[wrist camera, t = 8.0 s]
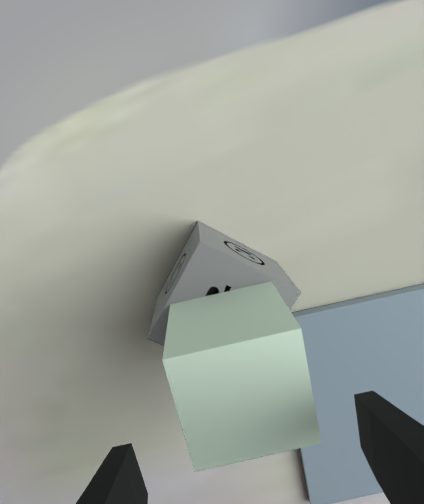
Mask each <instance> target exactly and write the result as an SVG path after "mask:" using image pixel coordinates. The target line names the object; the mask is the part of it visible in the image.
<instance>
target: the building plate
mask: <svg viewBox="0 0 424 504" xmlns="http://www.w3.org/2000/svg"><path fill="white" fill-rule="evenodd" d="M292 314H293V316H294V318H295V319H296V321H297V322H298V324H299V325H300V327H301V330H302V335H303V341H304V347H305V352H306V358H307V364H308V370H309V375H310V381H311V387H312V393H313V398H314V404H315V410H316V416H317V421H318V427H319V433H320V438H321V444H317V445H313V446H308V447H304V448H300V453H301V459H302V464H303V470H304V475H305V481H306V486H307V492H308V497H309V501H310V504H331V503H336V502H340V501H345V500H349V499H354V498H359V497H363V496H368V495H372V494H377V493H382V492H383V490H382V489H381V487H380V485H379V484H378V482H377V480H376V478H375V476H374V474H373V472H372V470H371V468H370V466H369V464H368V462H367V460H366V457H365V455H364V453H363V451H362V449H361V445H360V438H359V430H358V422H357V415H356V407H355V399H354V394H359V393H363V392H368V391H374V392H376V393H377V394H379V395H380V396H382V397H383V398H385V399H386V400H387V401H389V402H390V403H392V404H393V405H394V406H396V407H397V408H399V409H400V410H402V411H403V412H404V413H406V414H407V415H409V416H410V417H412V418H413V419H415V420H416V421H418V422H419V423H421V424H422V425H424V284H421V285H416V286H412V287H407V288H402V289H398V290H393V291H389V292H384V293H380V294H375V295H371V296H366V297H361V298H357V299H352V300H348V301H343V302H339V303H334V304H329V305H325V306H320V307H316V308H311V309H307V310H302V311H298V312H293V313H292Z"/></svg>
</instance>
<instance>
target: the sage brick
mask: <svg viewBox="0 0 424 504" xmlns="http://www.w3.org/2000/svg"><path fill="white" fill-rule="evenodd" d="M162 361H163V364H164V368H165V371H166V375H167V378H168V382H169V385H170V389H171V392H172V395H173V399H174V402H175V406H176V409H177V413H178V416H179V419H180V423H181V426H182V430H183V433H184V437H185V440H186V443H187V447H188V450H189V454H190V457H191V461H192V464H193V467H194V471H195V472H198V471H202V470H207V469H211V468H216V467H220V466H224V465H229V464H233V463H238V462H242V461H246V460H251V459H255V458H260V457H264V456H268V455H273V454H277V453H282V452H286V451H290V450H295V449H299V448H304V447H308V446H313V445H317V444H321V438H320V433H319V427H318V421H317V416H316V410H315V404H314V398H313V393H312V387H311V381H310V375H309V370H308V364H307V358H306V352H305V347H304V341H303V335H302V330H301V327H300V325H299V324H298V322H297V321H296V319H295V318H294V316H293V314H292V313H291V311H290V310H289V308H288V307H287V305H286V303H285V302H284V300H283V299H282V297H281V296H280V294H279V292H278V291H277V289H276V288H275V286H274V285H273V283H272V281H270V282H266V283H262V284H257V285H253V286H249V287H244V288H240V289H235V290H231V291H227V292H222V293H218V294H213V295H209V296H205V297H201V298H196V299H192V300H187V301H183V302H179V303H174V304H170V309H169V316H168V323H167V330H166V337H165V344H164V351H163V358H162Z"/></svg>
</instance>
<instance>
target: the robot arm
mask: <svg viewBox="0 0 424 504" xmlns="http://www.w3.org/2000/svg"><path fill="white" fill-rule="evenodd" d="M354 399H355V407H356V415H357V422H358V430H359V438H360V445H361V449H362V451H363V453H364V455H365V457H366V460H367V462H368V464H369V466H370V468H371V470H372V472H373V474H374V476H375V478H376V480H377V482H378V484H379V485H380V487H381V489H382V490H383V492H384V493H385V495H386V497H387V498H388V500H389V502H390V503H391V504H424V425H422V424H421V423H419V422H418V421H416V420H415V419H413V418H412V417H410V416H409V415H407V414H406V413H404V412H403V411H402V410H400V409H399V408H397V407H396V406H394V405H393V404H392V403H390V402H389V401H387V400H386V399H385V398H383V397H382V396H380V395H379V394H377V393H376V392H374V391H368V392H363V393H359V394H354ZM147 502H148V493H147V490H146V487H145V483H144V480H143V477H142V474H141V471H140V468H139V465H138V462H137V459H136V456H135V453H134V450H133V447H132V444H131V443H130V444H125V445H121V446H116V447H112V449H111V450H110V452H109V453H108V455H107V456H106V458H105V460H104V461H103V463H102V464H101V466H100V467H99V469H98V471H97V472H96V474H95V475H94V477H93V478H92V480H91V482H90V483H89V485H88V486H87V488H86V489H85V491H84V492H83V494H82V495H81V497H80V498H79V500H78V501H77V503H76V504H147Z"/></svg>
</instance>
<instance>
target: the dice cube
mask: <svg viewBox="0 0 424 504" xmlns="http://www.w3.org/2000/svg"><path fill="white" fill-rule="evenodd" d="M270 281H272V283H273V285H274V286H275V288H276V289H277V291H278V292H279V294H280V296H281V297H282V299H283V300H284V302H285V303H286V305H287V307H288V308H289V310H290V309H291V308H292V306H293V305H294V303H295V301H296V300H297V298H298V297H299V295H300V293H301V292H300V291H299V289H298V288H297V287H296V286H295V284H294V283H293V282H292V281H291V279H290V278H289V277H288V276H287V274H286V273H285V272H284V271H283V269H282V268H281V267H280V266H279V264H278V263H277V262H276V261H274V260H273V259H271V258H269V257H267V256H265V255H263V254H261V253H259V252H257V251H255V250H253V249H251V248H249V247H248V246H246V245H244V244H242V243H240V242H238V241H236V240H234V239H232V238H230V237H228V236H226V235H225V234H223V233H221V232H219V231H217V230H215V229H213V228H211V227H209V226H207V225H205V224H203V223H201V222H200V221H198V222H197V224H196V226H195V227H194V229H193V231H192V233H191V235H190V237H189V239H188V241H187V243H186V244H185V246H184V248H183V250H182V252H181V254H180V256H179V258H178V259H177V261H176V263H175V265H174V267H173V269H172V271H171V273H170V274H169V276H168V278H167V280H166V282H165V284H164V286H163V288H162V289H161V291H160V293H159V295H158V297H157V301H156V305H155V309H154V313H153V318H152V322H151V326H150V330H149V334H148V339H150V340H152V341H154V342H156V343H158V344H161V345H163V346H164V344H165V337H166V330H167V323H168V316H169V309H170V304H174V303H179V302H183V301H187V300H192V299H196V298H201V297H205V296H209V295H213V294H218V293H222V292H227V291H231V290H235V289H240V288H244V287H249V286H253V285H257V284H262V283H266V282H270Z"/></svg>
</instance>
